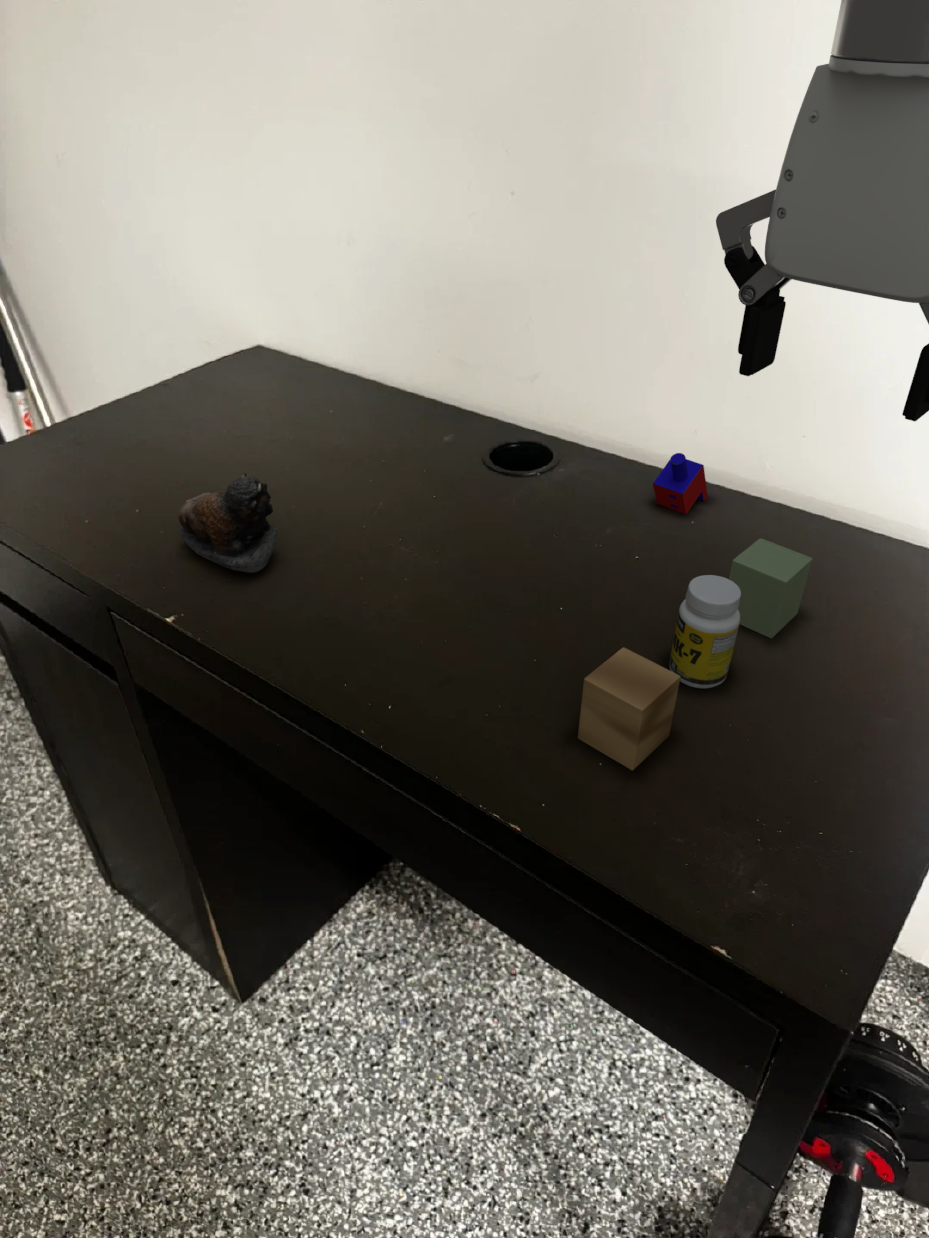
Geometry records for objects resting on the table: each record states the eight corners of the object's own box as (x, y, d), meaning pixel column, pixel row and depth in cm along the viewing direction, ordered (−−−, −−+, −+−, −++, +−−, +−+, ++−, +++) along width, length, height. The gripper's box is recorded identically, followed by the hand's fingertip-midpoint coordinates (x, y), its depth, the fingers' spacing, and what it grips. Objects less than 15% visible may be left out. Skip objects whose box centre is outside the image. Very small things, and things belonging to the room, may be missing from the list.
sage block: (747, 592, 83) (760, 537, 79) (797, 614, 80) (813, 558, 77) (720, 615, 80) (732, 559, 77) (771, 639, 77) (786, 582, 74)
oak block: (615, 705, 71) (623, 646, 67) (669, 735, 68) (681, 675, 64) (577, 738, 68) (583, 678, 64) (632, 771, 65) (642, 710, 61)
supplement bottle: (657, 662, 75) (671, 579, 70) (702, 647, 76) (719, 565, 71) (691, 697, 71) (709, 612, 66) (739, 680, 73) (759, 597, 68)
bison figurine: (167, 550, 89) (146, 458, 83) (224, 522, 93) (208, 433, 87) (244, 595, 83) (227, 499, 77) (301, 563, 87) (289, 470, 81)
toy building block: (658, 513, 98) (649, 466, 91) (678, 485, 99) (670, 437, 92) (687, 524, 96) (679, 477, 89) (707, 495, 97) (701, 447, 91)
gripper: (1157, 36, 39) (1015, 411, 49) (784, 25, 48) (730, 340, 58) (1113, 46, 34) (967, 456, 44) (712, 32, 44) (667, 371, 54)
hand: (833, 390), depth 51 cm, fingers open, 9 cm apart
